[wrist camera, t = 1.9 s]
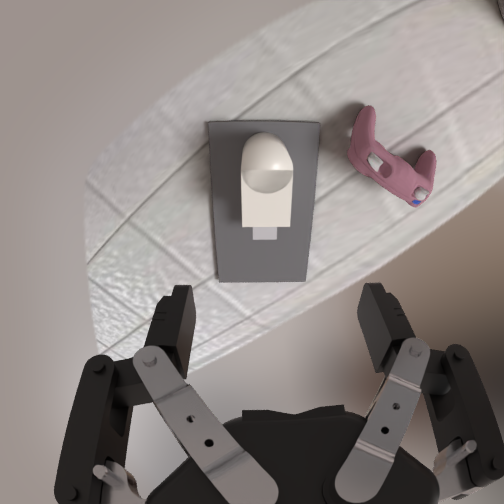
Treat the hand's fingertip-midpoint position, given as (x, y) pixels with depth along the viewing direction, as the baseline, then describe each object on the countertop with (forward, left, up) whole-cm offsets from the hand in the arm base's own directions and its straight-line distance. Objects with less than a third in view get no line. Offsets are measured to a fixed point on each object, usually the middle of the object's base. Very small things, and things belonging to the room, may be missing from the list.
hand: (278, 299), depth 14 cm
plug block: (0, 0, -17) cm, 17 cm away
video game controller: (-3, +12, -18) cm, 22 cm away
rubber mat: (+4, 0, -18) cm, 18 cm away
